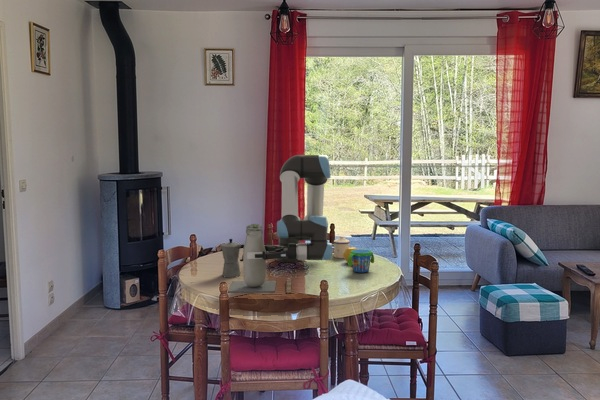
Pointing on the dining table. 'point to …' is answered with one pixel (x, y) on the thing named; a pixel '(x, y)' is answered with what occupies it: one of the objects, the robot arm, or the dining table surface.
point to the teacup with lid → (340, 247)
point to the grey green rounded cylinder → (254, 267)
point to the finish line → (288, 286)
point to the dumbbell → (348, 253)
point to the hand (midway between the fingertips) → (248, 252)
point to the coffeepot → (231, 258)
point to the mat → (243, 287)
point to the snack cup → (361, 260)
